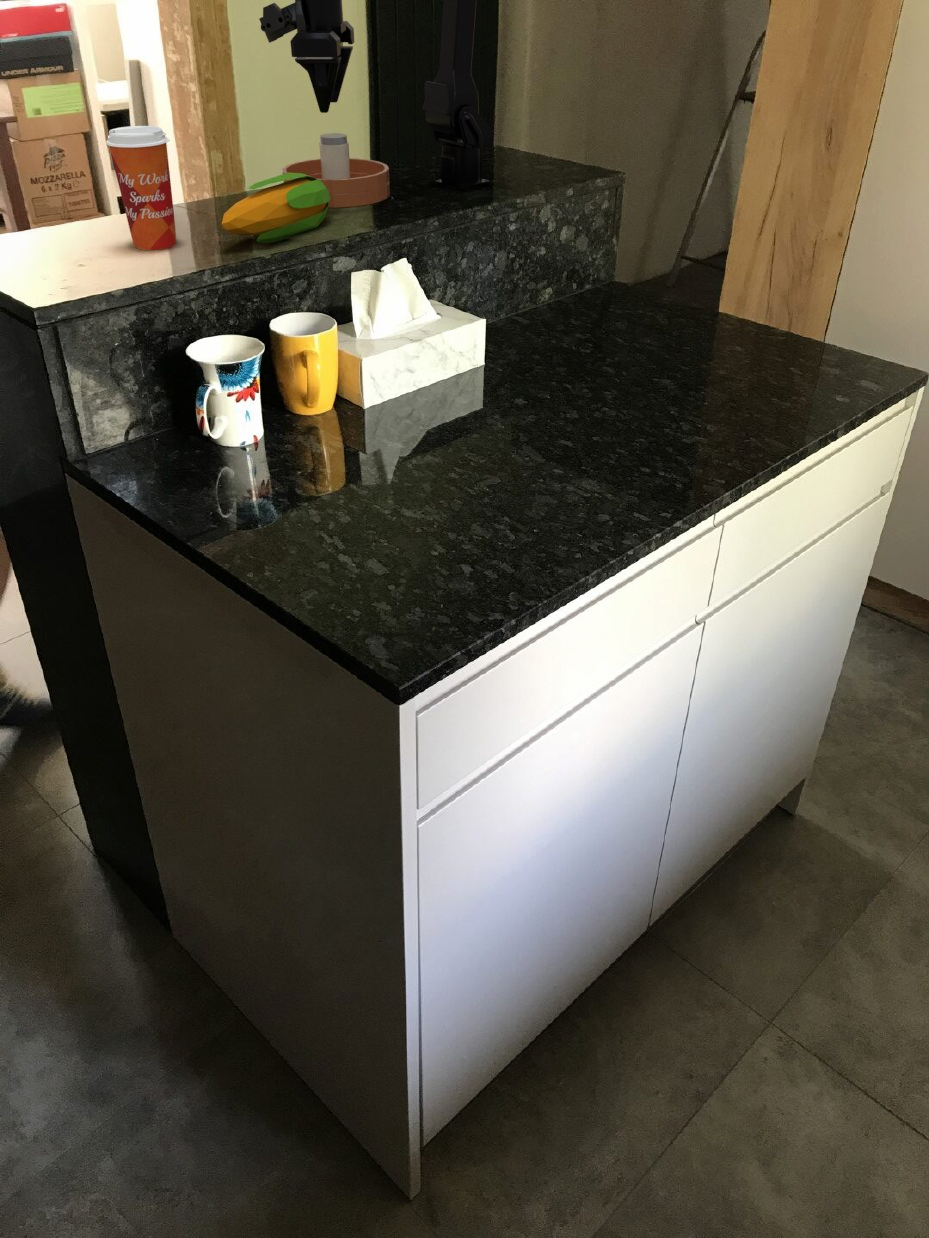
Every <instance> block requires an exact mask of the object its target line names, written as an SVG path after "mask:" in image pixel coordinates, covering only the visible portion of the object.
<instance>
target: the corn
mask: <svg viewBox="0 0 929 1238" xmlns="http://www.w3.org/2000/svg"><path fill="white" fill-rule="evenodd" d="M294 178H297V179H294ZM289 179H293V180H290V181H287V182H284V183H283V181H284V180H289ZM279 182H281V183H279ZM276 183H278V184H276ZM272 184H275V185H272ZM268 185H272V186H269V187H265V186H268ZM263 187H265V188H263ZM259 188H263V189H260V190H258V191H257V192H255V193H252V194H250V195H249V196H246V197H245V198H243V199H241V200H238V201H237V202H235V203H234V204H233V205H232V206H231V207H230V208H229V209H228V210H226V212H224V213H223V217H222V221H221V228H222V229H223V230H225V231H226V232H227V233H229V234H230V235H237V236H239V235H240V236H254V237H257V239H256V241H255V242H256V243H262V244H263V243H275V242H280V241H283V240H287V239H290V238H291V239H292V238H293V237H294V236H293V235H297V234H300V233H304V232H307V231H311V230H314V229H317V228H318V227H319V226H320V225H321V223H322V222H323V221H324V220H325V217H326V215H327V214H328V209H329V208H328V201H330V195H329V192H328V190H327V188H326V186H325V185H324V184H323V183H322V182H321V181H318V180H317V179H315V178H313V177H310V176H308V175H305V174H302V173H286V174H283V173H282V174H280V175H277V176H273V177H270V178H267V179H264V180H261V181H258V182H255V183H253V184H252V185H250V186H249V187H248V188H247V189H249V190H256V189H259Z"/></svg>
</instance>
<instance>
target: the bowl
mask: <svg viewBox="0 0 929 1238" xmlns="http://www.w3.org/2000/svg"><path fill="white" fill-rule="evenodd" d="M349 160H350V177H351V178H348V179H322V172H321V159H320V158H314V159H306V160H301V161H296V162H293V163H289V164H287V165H285V166H283V167H282V169H281V172H282V175H283V174H286V173H302V174H305V175H308V176H310V177H313V178H315V179H317V180H318V181H321V182H322V183H323V184H324V185H325V186H326V188H327V190H328V192H329V195H330V201H328V209H329V208H331V209H337V208H339V209H340V208H353V207H362V206H363V207H364V206H369V205H373V204H377V203H380V202H382V201H385V200H387V199H388V198H389V197H390V196H391V187H390V168H389V166H388V165H387V164H386V163H384V162H381V161H379V160H372V159H366V158H357V157H349ZM294 179H297V178H294ZM290 180H293V179H289V180H284V181H282V183H284V182H287V181H290Z"/></svg>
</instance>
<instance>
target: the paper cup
mask: <svg viewBox="0 0 929 1238" xmlns="http://www.w3.org/2000/svg"><path fill="white" fill-rule="evenodd" d="M166 135H167V133H166V131H164V130H163V129H162V127H159V126H154V125H132V126H130V125H129V126H121V127H116V128H112V129H109V131H108V136H107V139H106V142H105V145H107V146H108V147H109V150H110V155H111V159H112V163H113V168H114V172H115V176H116V180H117V183H118V187H119V191H120V196H121V200H122V203H123V208H124V212H125V217H126V220H127V224H128V229H129V233H130V236H131V239H132V244H133V246H134V248H135V249H138V250H142V251H143V250H144V251H159V250H165V249H169V248H172V247H175V246H176V244H177V232H176V223H175V220H176V219H175V212H174V210H175V209H174V202H173V193H172V191H173V190H172V182H171V173H170V165H169V156H168V155H169V154H168V145H167V143H168V142H170V138H168V137H167V136H166Z"/></svg>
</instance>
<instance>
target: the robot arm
mask: <svg viewBox="0 0 929 1238" xmlns="http://www.w3.org/2000/svg"><path fill="white" fill-rule="evenodd" d="M442 7H443V8H442V23H441V24H442V25H441V39H440V55H439V68H438V72H437V73H436V76H435V78H434V80H433V81H428V80H426V81H425V83H424V101H423V102H424V103H423V105H422V111H425V120H426V123H427V124H428V125H429V126H430V128H431V130H432V133H433V136H434V139H435V141H436V142H441V143H443V144H441V156H440V168H441V169H440V178H441V179H437V180H435V182H436V183H441V184H444V185H450V186H456V187H459V188H467V187H470V186H471V187H472V186H474V187H479V186H485V185H489V184H490V180H488V179H485V178H483V148H484V147H489V146H490V144H491V141H492V138H493V137H492V136H493V130H492V129H491V128H490V126H489V125H488V124H487V123H486V121H485V120H484V119H483V117H482V116H481V115H480V106H479V91H478V90H477V87H476V83H475V80H474V78H473V75H472V65H473V54H474V53H473V51H474V39H475V38H474V37H475V27H476V25H475V23H476V11H477V0H443V6H442ZM258 20H259V22H260V30H261V31H262V32H264V34H265V37H266V39H267V41H268V44H270V43H273V42H275V41H277V40H278V39H280V38H283V37H284V36H285V35H286V34H289V33H291V32H293V31H295V30H296V33H295V34H294V36H293V37H292V38H291V40H290V42H289V43H290V52H291V58H294V61H295V62H296V63H297V64H299V66H301V67H302V68H303V69H304V71H306V72H307V74H308V77H309V81H310V83H311V87H312V91H313V93H314V96H315V100H316V103H317V106H318V109H319V112H320V113H321V114H327V113H329V110H330V106H331V103H338V101H339V97H340V95H341V91H342V87H343V83H344V79H345V76H346V72H347V69H348V66H349V63H350V59H351V55H352V52H353V49H354V46H353V44H354V43H355V29H354V27H353V26H352V25H351V24H350V22H349V21H348V20H344V13H343V0H294V2H293V3H290V4H288V5H286V6H284V7H280V6H279V5H278V4H277V3H275V2H273V3H270V4H268V5H266V6H264V7H262V17H260V18H259V19H258ZM344 43H347V44H348V45H344Z"/></svg>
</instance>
